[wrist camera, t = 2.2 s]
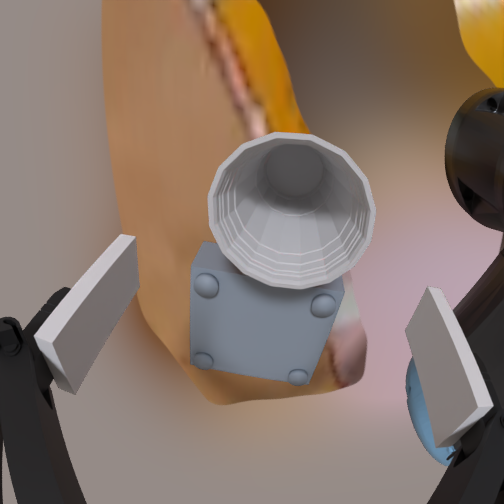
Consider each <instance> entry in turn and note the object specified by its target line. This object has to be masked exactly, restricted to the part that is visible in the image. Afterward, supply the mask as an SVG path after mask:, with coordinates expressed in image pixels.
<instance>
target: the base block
mask: <svg viewBox="0 0 504 504" xmlns="http://www.w3.org/2000/svg"><path fill="white" fill-rule="evenodd" d="M344 293H345V291H344V285H343V280H342V275H341V276H339V277H338V278H336V279H335V280H333V281H332V282H330V283H327V284H322V285H318V286H314V287H309V288H305V289H292V288H283V287H274V286H269V285H267V284H265V283H263V282H261V281H259V280H256V279H254V278H252V277H250V276H248V275H246V274H244V273H243V272H241V271H240V270H239V269H238V268H237V267H236V266H235V265H234V264H233V263H232V262H231V261H230V260H229V259H228V258H227V257H226V256H225V255H224V254H223V253H222V251H221V249H220V247H219V245H218V244H217V243H212V242H206V241H204V242H203V244H202V246H201V247H200V249H199V251H198V253H197V255H196V257H195V259H194V261H193V263H192V265H191V287H190V364H192V365H195V366H196V367H197V368H199V369H202V370H208V369H215V370H220V371H225V372H230V373H236V374H241V375H247V376H252V377H258V378H264V379H271V380H277V381H284V382H289V383H290V384H292V385H294V386H301V385H304V384H307V385H308V384H309V382H310V380H311V377H312V375H313V373H314V370H315V368H316V365H317V363H318V361H319V358H320V356H321V353H322V351H323V348H324V346H325V343H326V341H327V338H328V336H329V333H330V331H331V328H332V325H333V323H334V320H335V318H336V315H337V312H338V310H339V307H340V304H341V301H342V299H343V296H344Z"/></svg>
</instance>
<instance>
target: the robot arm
mask: <svg viewBox="0 0 504 504" xmlns="http://www.w3.org/2000/svg"><path fill="white" fill-rule="evenodd" d="M445 170H446V176H447V180H448V183H449V186H450V189H451V191H452V193H453V195H454V197H455V199H456V200H457V202H458V203H459V205H460V206H461V207H462V208H463V209H464V210H465V211H466V212H467V213H468V214H469V215H470V216H471V217H472V218H473V219H474V220H476V221H477V222H479V223H480V224H482V225H484V226H486V227H488V228H491V229H495V230H498V231H501V232H504V88H488V89H484V90H481V91H479V92H477V93H475V94H474V95H472V96H471V97H470V98H468V99H467V100H466V101H465V102H464V103H463V105H462V106H461V107H460V108H459V110H458V111H457V113H456V115H455V117H454V118H453V120H452V123H451V126H450V128H449V132H448V135H447V140H446V145H445ZM139 287H140V284H139V273H138V260H137V246H136V237H135V236H129V235H123V234H120V235H119V236H118V238H117V239H116V240H115V241H114V242H113V243H112V244H111V245H110V246H109V247H108V248H107V249H106V250H105V252H104V253H103V254H102V255H101V256H100V257H99V258H98V259H97V260H96V261H95V263H94V264H93V265H92V266H91V267H90V268H89V269H88V271H87V272H86V273H85V274H84V275H83V276H82V277H81V278H80V280H79V281H78V282H77V283H76V284H75V285H74V287H73V288H72V289H70V288H67V287H64V288H62V289H60V290H59V291H57V292H55V293H54V294H53V295H52V296H51V297H50V299H49V300H48V301H47V303H46V304H44V306H43V307H42V308H41V311H39V312H38V313H37V314H36V315H35V316H34V318H33V319H32V320H31V321H30V323H29V324H28V325H27V326H26V327H25V329H24V330H22V328H21V326H20V323H19V322H18V321H17V320H16V319H15V318H12V317H3V318H0V504H3V499H2V451H3V441H4V446H5V452H6V458H7V462H8V467H9V472H10V476H11V480H12V484H13V488H14V492H15V496H16V499H17V503H18V504H87V503H86V501H85V498H84V496H83V493H82V491H81V488H80V486H79V483H78V480H77V477H76V475H75V472H74V469H73V467H72V463H71V461H70V458H69V454H68V451H67V448H66V445H65V441H64V438H63V434H62V431H61V427H60V424H59V420H58V416H57V412H56V408H55V404H54V399H53V395H52V390H51V388H50V386H49V385H50V384H51V382H52V380H53V379H54V380H55V382H56V384H57V386H58V388H60V389H62V390H64V391H67V392H69V393H72V394H74V395H76V393H77V391H78V389H79V387H80V386H81V384H82V382H83V380H84V378H85V377H86V375H87V373H88V371H89V370H90V368H91V366H92V364H93V363H94V361H95V359H96V357H97V356H98V354H99V352H100V351H101V349H102V347H103V346H104V344H105V342H106V340H107V339H108V337H109V335H110V334H111V332H112V330H113V329H114V327H115V326H116V324H117V322H118V321H119V319H120V317H121V316H122V314H123V313H124V311H125V309H126V308H127V306H128V305H129V303H130V301H131V300H132V298H133V297H134V295H135V294H136V292H137V290H138V289H139ZM405 332H406V335H407V339H408V342H409V345H410V348H411V351H412V355H413V356H412V358H411V361H410V363H409V366H408V369H407V375H406V392H407V397H408V399H407V405H408V410H409V413H410V416H411V420H412V423H413V426H414V428H415V431H416V433H417V435H418V437H419V439H420V440H421V442H422V444H423V446H424V447H425V449H426V450H427V451H428V452H429V454H430V455H431V456H432V457H433V458H434V459H435V460H437V461H438V462H439V463H441V464H443V465H445V466H448V468H447V470H446V472H445V474H444V476H443V477H442V479H441V481H440V483H439V485H438V486H437V488H436V490H435V491H434V493H433V495H432V496H431V498H430V500H429V501H428V503H427V504H504V249H503V250H502V251H501V252H500V253H499V255H498V256H497V257H496V259H495V260H494V261H493V263H492V264H491V265H490V266H489V268H488V269H487V270H486V272H485V273H484V274H483V275H482V277H481V278H480V279H479V280H478V282H477V283H476V284H475V285H474V286H473V288H472V289H471V290H470V291H469V292H468V293H467V295H466V296H465V297H464V298H463V299H462V300H461V302H460V303H459V304H458V305H457V306H456V307H455V308H454V310H453V311H452V309H451V307H450V305H449V303H448V301H447V299H446V298H445V296H444V294H443V292H442V290H441V289H440V288H435V287H427V288H426V290H425V293H424V295H423V297H422V299H421V301H420V303H419V305H418V307H417V309H416V311H415V313H414V315H413V317H412V319H411V320H410V322H409V324H408V326H407V328H406V330H405Z"/></svg>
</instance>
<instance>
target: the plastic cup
mask: <svg viewBox="0 0 504 504" xmlns="http://www.w3.org/2000/svg"><path fill="white" fill-rule="evenodd" d="M208 212H209V226H210V228H211V231H212V233H213V235H214V237H215V239H216V241H217V243H218V245H219V247H220V249H221V251H222V253H223V254H224V255H225V256H226V257H227V258H228V259H229V260H230V261H231V262H232V263H233V264H234V265H235V266H236V267H237V268H238V269H239V270H240V271H241V272H243V273H244V274H246V275H248V276H250V277H252V278H254V279H256V280H259V281H261V282H263V283H265V284H267V285H269V286H274V287H283V288H292V289H305V288H309V287H314V286H318V285H322V284H327V283H330V282H332V281H333V280H335V279H336V278H338V277H339V276H341V275H342V274H344V273H345V272H347V271H348V270H350V269H351V268H353V267H354V266H355V265H356V263H357V262H358V260H359V259H360V257H361V256H362V254H363V253H364V251H365V250H366V248H367V247H368V245H369V244H370V242H371V239H372V234H373V228H374V222H375V216H376V208H375V204H374V200H373V196H372V192H371V189H370V185H369V182H368V178H367V177H366V176H365V175H364V174H363V172H362V171H361V170H360V169H359V168H358V166H357V165H356V164H355V163H354V161H353V160H352V159H351V158H350V156H349V155H348V154H347V153H346V152H345V151H344V150H342V149H340V148H338V147H336V146H334V145H332V144H330V143H328V142H326V141H324V140H322V139H320V138H318V137H316V136H314V135H312V134H299V133H283V132H274V133H271V134H269V135H266V136H263V137H260V138H257V139H255V140H252V141H249V142H247V143H244V144H242V145H241V146H240V147H239V148H238V149H237V150H236V151H235V152H234V153H232V154H231V155H230V156H229V157H228V158H227V159H226V160H225V161H224V162H223V163H222V164H221V165H220V166H219V168H218V170H217V173H216V175H215V178H214V180H213V183H212V186H211V188H210V191H209V194H208Z"/></svg>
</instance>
